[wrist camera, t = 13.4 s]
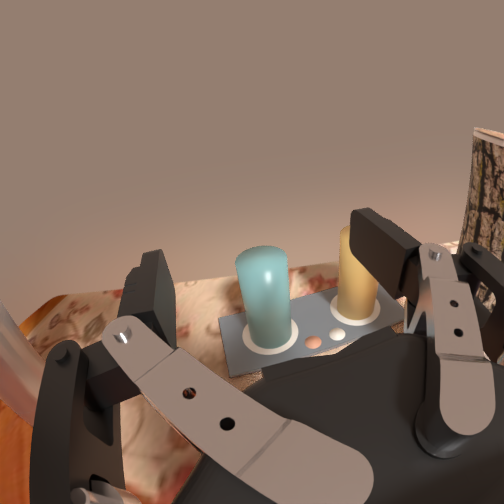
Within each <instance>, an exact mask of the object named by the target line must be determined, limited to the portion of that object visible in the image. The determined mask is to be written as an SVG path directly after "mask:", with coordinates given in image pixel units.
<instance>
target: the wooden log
mask: <svg viewBox="0 0 504 504" xmlns="http://www.w3.org/2000/svg"><path fill="white" fill-rule="evenodd" d="M474 129H476V130H475V131H474V134H473V150H472V164H471V175H470V184H469V192H468V199H467V205H466V211H465V217H464V222H463V227H462V232H461V237H460V241H459V245H458V249H457V253H456V254H461V251H462V247H463V245H464V244H465V243H467V242H473V243H477V244H479V245H481V246H483V247H484V248H486V249H487V250H488V251H489V252H491V253H492V254H493V255H494V256H495V257H497V258H498V259H499V260H500V261H501V262H502V263H504V134H503V133H499V132H495V131H491V130H487V129H481V128H474ZM476 297H477V298H478V299H479V300H480V301H481V302H482V303H483V304H484V305H485V306H486V308H487V309H488V310H489V311H490V312H491V313H492V311H493V309H494V307H495V304H496V299H495V296H494V294H493V293H492V292H491V291H490V290H489V289H488V288H487V287H486V286H485V285H484V284H483V283H482V282H481V284H480V286H479V289H478V291H477V293H476Z"/></svg>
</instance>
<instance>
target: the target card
mask: <svg viewBox="0 0 504 504" xmlns="http://www.w3.org/2000/svg"><path fill="white" fill-rule="evenodd" d="M337 296H338V286H337V287H334V288H331V289H327V290H324V291H320V292H317V293H313V294H310V295H306V296H303V297H299V298H296V299H292V300H290V307H291V323H292V335H291V338H290V340H289V341H288V342H287V343H286V344H284V345H283V346H281V347H278V348H274V349H264V348H261V347H258V346H257V345H255V344H254V343H253V342H252V340H251V337H250V332H249V327H248V323H247V318H246V313H245V312H242V313H237V314H233V315H229V316H225V317H220V318H219V324H220V329H221V335H222V340H223V345H224V351H225V356H226V361H227V366H228V371H229V376H230V378H232V377H237V376H241V375H245V374H249V373H253V372H257V371H261V368H262V367H266V366H270V365H274V364H277V363H281V362H285V361H288V360H292V359H295V358H304V357H310V356H313V355H316V354H319V353H322V352H325V351H328V350H331V349H334V348H337V347H339V346H342V345H345V344H348V343H350V342H353V341H356V340H357V339H359V338H360V337H362V336H364V335H366V334H369V333H372V332H374V331H377V330H379V329H382V328H384V327H386V326H389V325H390V326H393V325H395V324H397V323H399V322H402V321H404V309H403V308H402V306H401V305H400V304H399V303H398V302H397V301H396V300H394V299H393V298H392V297H391V296H390V295H389V294H388V293H387V292H386V290H385V289H384V288H383V287H382V286H381V285H380V284H379V283H378V290H377V295H376V301H375V306H374V311H373V313H372V314H371V315H370V316H369V317H368V318H366V319H363V320H350V319H347V318H345V317H343V316H342V315H341V314H340V313H339V312H338V310H337Z"/></svg>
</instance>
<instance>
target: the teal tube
mask: <svg viewBox="0 0 504 504" xmlns="http://www.w3.org/2000/svg"><path fill="white" fill-rule="evenodd" d="M235 265H236V270H237V275H238V279H239V284H240V289H241V294H242V299H243V304H244V309H245V313H246V318H247V323H248V327H249V332H250V337H251V340H252V342H253V343H254V344H255V345H257V346H258V347H261V348H264V349H274V348H278V347H281V346H283V345H284V344H286V343H287V342H288V341H289V340H290V338H291V335H292V323H291V307H290V292H289V278H288V265H287V255H286V253H285V252H284V251H283V250H282V249H280V248H277V247H274V246H257V247H253V248H250V249H248V250H245V251H243V252H242V253H241V254H240V255H238V257H237V258H236V261H235Z"/></svg>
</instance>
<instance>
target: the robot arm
mask: <svg viewBox="0 0 504 504" xmlns="http://www.w3.org/2000/svg"><path fill="white" fill-rule="evenodd" d="M349 247H350V251H351V253H352V255H353V256H354V257H355V258H356V259H357V260H358V261H359V262H360V263H361V264H362V265H363V266H364V267H365V269H366V270H367V271H368V272H369V273H370V274H371V275H372V276H373V277H374V278H375V279H376V280H377V282H378V283H379V284H380V285H381V286H382V287H383V288H384V289H385V290H386V292H387V293H388V294H389V295H390V296H391V297H392V298H393V299H394V300H396V299H398V298H401V297H403V296H405V297H406V301H405V304H404V333H397V334H396V333H395V332H394V331H393V329H392V328H391V327H390V325H389V326H386V327H384V328H382V329H379V330H377V331H374V332H372V333H369V334H366V335H364V336H362V337H360V338H359V339H357V340H356V341H355V342H353V343H352V344H350V345H349V346H347V347H346V348H344V349H343V350H341V351H339V352H338V353H336V354H333V355H324V356H315V357H304V358H295V359H292V360H288V361H285V362H281V363H277V364H274V365H270V366H266V367H262V368H261V370H262V376H263V378H262V379H260V380H258V381H256V382H255V383H253V384H252V385H250V386H249V387H247V388H246V389H245V390H244V391H242V392H241V391H240V390H238V389H237V388H235V387H234V386H232V385H231V384H229V383H228V382H227V381H225V380H224V379H222V378H221V377H220V376H218V375H217V374H215V373H214V372H213V371H211V370H210V369H209V368H207V367H206V366H205V365H203V364H202V363H201V362H199V361H198V360H197V359H195V358H194V357H193V356H191V355H190V354H189V353H188V352H186V351H185V350H184V349H182V348H180V347H177V345H176V296H175V288H174V284H173V281H172V278H171V275H170V272H169V269H168V266H167V263H166V260H165V257H164V254H163V251H162V250H161V249H159V250H154V251H150V252H146V253H143V255H142V260H141V264H140V267H135V268H133V269H132V270H131V272H130V273H129V274H128V276H127V277H126V281H125V287H124V289H123V295H122V297H121V302H120V306H119V311H118V315H117V319H115V320H113V321H112V322H110V323H109V324H108V325H107V326H106V327H105V329H104V331H103V333H102V340H101V341H99V342H96V343H94V344H92V345H90V346H87V347H85V348H83V349H81V347H80V346H79V345H78V343H77V342H75V341H73V340H65V341H62V342H60V343H58V344H57V345H56V346H54V347H53V348H52V350H51V351H50V352H49V354H48V356H47V359H46V362H45V361H44V360H43V359H42V358H41V356H40V355H39V354H38V353H37V351H36V350H35V349H34V348H33V346H32V345H31V344H30V342H29V341H28V340H27V338H26V337H25V336H24V334H23V333H22V332H21V330H20V329H19V327H18V326H17V325H16V323H15V322H14V320H13V319H12V317H11V316H10V314H9V312H8V311H7V309H6V308H5V306H4V305H3V303H2V302H1V300H0V399H1V400H2V401H3V402H4V403H5V404H7V405H8V406H9V407H10V408H11V409H12V410H13V411H14V412H15V413H17V414H18V415H19V416H20V417H21V418H22V419H24V420H25V421H26V422H27V423H29V424H30V425H31V426H32V427H33V433H32V442H31V454H30V477H29V490H30V504H141V502H140V501H139V499H138V498H137V497H136V496H135V495H133V494H132V493H130V492H128V491H126V488H125V480H124V471H123V460H122V447H121V426H120V402H123V401H125V400H127V399H130V398H132V397H135V396H137V395H139V394H141V395H142V396H143V397H144V398H145V399H146V400H147V401H148V402H149V404H150V405H151V406H152V407H153V408H154V409H155V410H156V411H157V412H158V413H159V414H160V415H161V416H162V417H163V418H164V419H165V420H166V421H167V422H168V423H169V424H170V425H171V426H172V427H173V428H174V429H175V430H176V431H177V432H178V433H179V434H180V435H181V436H182V437H183V438H184V439H185V440H186V441H187V442H188V443H189V444H190V445H192V446H193V447H194V448H195V449H196V450H197V451H198V452H200V453H201V454H202V455H201V457H200V459H199V460H198V462H197V464H196V465H195V467H194V468H193V470H192V472H191V473H190V475H189V477H188V478H187V480H186V481H185V483H184V484H183V486H182V488H181V489H180V491H179V492H178V494H177V495H176V497H175V498H174V500H173V501H172V503H171V504H504V263H502V262H501V261H500V260H499V259H498V258H497V257H495V256H494V255H493V254H492V253H491V252H489V251H488V250H487V249H486V248H484V247H483V246H481V245H479V244H477V243H473V242H467V243H465V244H464V245H463V247H462V251H461V254H451V253H450V252H449V251H448V250H447V249H446V248H444V247H443V246H441V245H438V244H434V243H425V244H421V243H420V242H419V241H417V240H416V239H415V238H413V237H412V236H411V235H409V234H408V233H407V232H404V230H403V229H401V228H400V227H398V226H397V225H396V224H395V223H393V222H392V221H391V220H388V219H386V218H383V217H382V216H380V215H379V214H378V213H376V212H375V211H373V210H372V209H370V208H363V209H357V210H353V211H352V213H351V218H350V235H349ZM481 282H482V283H483V284H484V285H485V286H486V287H487V288H488V289H489V290H490V291H491V292H492V293H493V294H494V296H495V299H496V304H495V307H494V309H493V311H492V313H491V312H490V311H489V310H488V309H487V308H486V306H485V305H484V304H483V303H482V302H481V301H480V300H479V299H478V298H477V297H476V293H477V291H478V289H479V286H480V284H481ZM483 351H484V352H485V353H486V355H487V356H488V357H489V359H490V360H491V361H489V360H488V359H486V358H485V357H484V353H483Z"/></svg>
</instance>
